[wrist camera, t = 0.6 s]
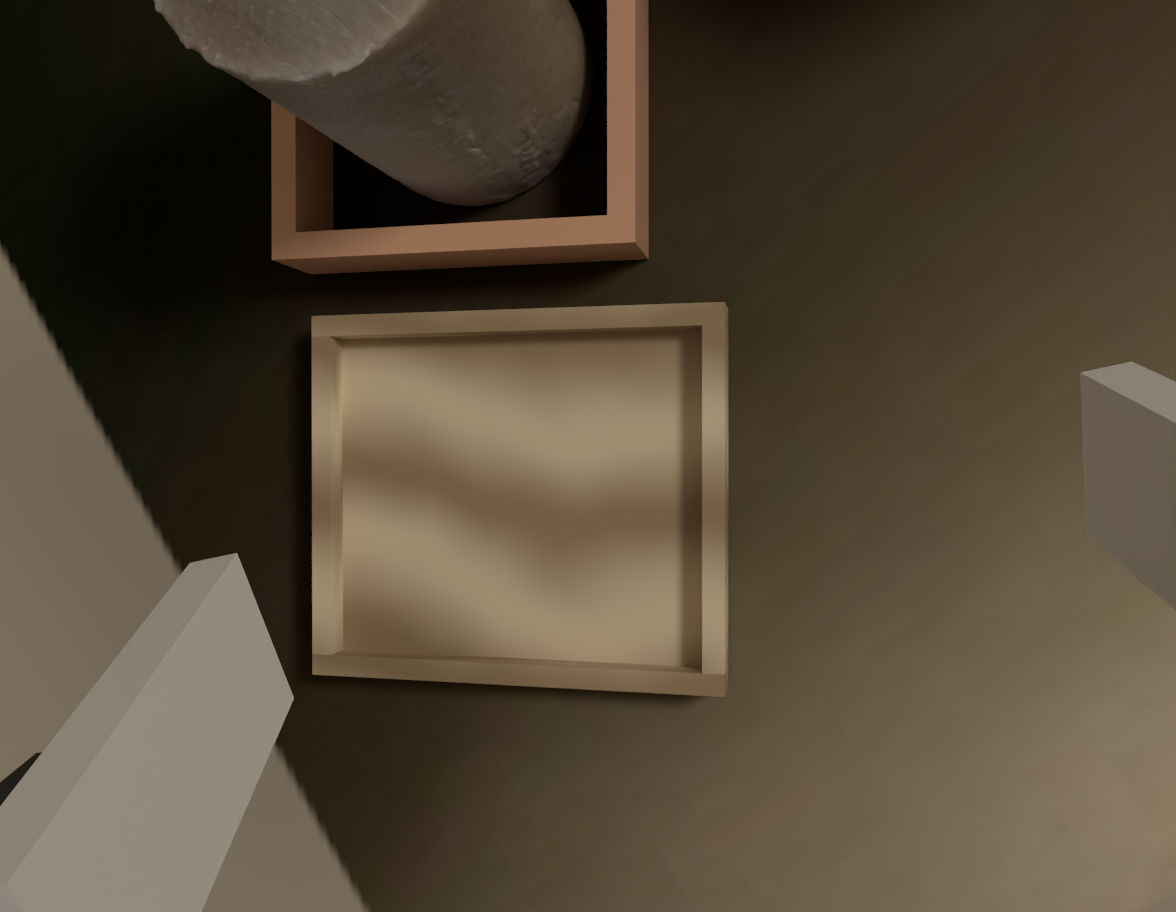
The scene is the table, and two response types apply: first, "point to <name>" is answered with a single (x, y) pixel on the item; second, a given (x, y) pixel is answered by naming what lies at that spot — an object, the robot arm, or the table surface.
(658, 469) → the tray
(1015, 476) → the table surface
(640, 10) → the holder
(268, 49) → the pillar candle
